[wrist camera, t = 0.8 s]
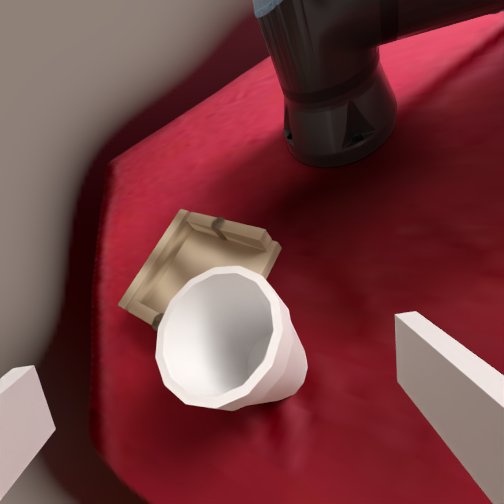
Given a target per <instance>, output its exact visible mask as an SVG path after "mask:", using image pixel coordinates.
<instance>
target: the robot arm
mask: <svg viewBox="0 0 504 504" xmlns="http://www.w3.org/2000/svg"><path fill="white" fill-rule="evenodd" d="M253 3H254V14H255V16H256V17H257V18H258V20H259V23H260V26H261V29H262V32H263V35H264V38H265V41H266V44H267V47H268V50H269V53H270V56H271V59H272V62H273V65H274V68H275V71H276V73H277V76H278V79H279V82H280V85H281V88H282V91H283V94H284V136H285V140H286V143H287V145H288V148H289V150H290V152H291V154H292V155H293V157H294V158H296V159H297V160H298V161H300V162H301V163H304V164H306V165H309V166H314V167H336V166H341V165H345V164H349V163H352V162H355V161H357V160H359V159H362V158H364V157H366V156H367V155H369V154H371V153H372V152H374V151H375V150H377V149H378V148H379V147H380V146H381V145H382V144H383V143H384V142H385V141H386V140H387V139H388V138H389V136H390V135H391V134H392V132H393V130H394V128H395V125H396V120H397V103H396V98H395V95H394V92H393V90H392V88H391V85H390V83H389V81H388V79H387V76H386V74H385V72H384V70H383V67H382V65H381V63H380V58H379V46H380V45H383V44H386V43H390V42H393V41H396V40H400V39H403V38H407V37H410V36H414V35H417V34H421V33H424V32H428V31H431V30H435V29H439V28H442V27H446V26H449V25H453V24H456V23H460V22H463V21H467V20H470V19H474V18H477V17H481V16H484V15H488V14H496V13H499V12H501V11H504V0H253ZM395 333H396V358H397V382H398V383H399V384H400V385H401V387H402V388H403V389H404V390H405V392H406V393H407V394H408V396H409V397H410V398H411V399H412V401H413V402H414V403H415V405H416V406H417V407H418V408H419V410H420V411H421V412H422V414H423V415H424V416H425V417H426V419H427V420H428V421H429V422H430V424H431V425H432V426H433V428H434V429H435V430H436V431H437V433H438V434H439V435H440V437H441V438H442V439H443V440H444V442H445V443H446V444H447V445H448V447H449V448H450V449H451V451H452V452H453V453H454V454H455V456H456V457H457V458H458V460H459V461H460V462H461V463H462V465H463V466H464V467H465V469H466V470H467V471H468V472H469V474H470V475H471V476H472V477H473V479H474V480H475V481H476V483H477V484H478V485H479V486H480V488H481V489H482V490H483V492H484V493H485V494H486V495H487V497H488V498H489V499H490V500H491V502H492V503H493V504H504V376H503V375H502V374H501V373H499V372H498V371H497V370H495V369H494V368H493V367H491V366H490V365H488V364H487V363H486V362H484V361H483V360H482V359H480V358H479V357H478V356H476V355H475V354H473V353H472V352H471V351H469V350H468V349H467V348H465V347H464V346H463V345H461V344H460V343H458V342H457V341H456V340H454V339H453V338H452V337H450V336H449V335H448V334H446V333H445V332H443V331H442V330H441V329H439V328H438V327H437V326H435V325H434V324H433V323H431V322H430V321H428V320H427V319H426V318H424V317H423V316H422V315H420V314H419V313H418V312H416V311H415V312H408V313H401V314H395ZM54 430H55V426H54V423H53V420H52V417H51V414H50V411H49V408H48V405H47V402H46V399H45V396H44V393H43V390H42V387H41V384H40V381H39V378H38V375H37V372H36V370H35V367H34V365H33V366H26V367H19V368H13V369H12V370H11V371H9V372H8V373H7V374H5V375H4V376H3V377H2V378H0V500H1V499H2V498H3V496H4V495H5V494H6V493H7V491H8V490H9V489H10V488H11V486H12V485H13V483H14V482H15V481H16V480H17V479H18V477H19V476H20V475H21V473H22V472H23V471H24V469H25V468H26V467H27V466H28V464H29V463H30V462H31V460H32V459H33V458H34V457H35V455H36V454H37V453H38V451H39V450H40V449H41V448H42V446H43V445H44V443H45V442H46V441H47V440H48V438H49V437H50V436H51V435H52V433H53V432H54Z"/></svg>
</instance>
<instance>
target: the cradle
mask: <svg viewBox="0 0 504 504" xmlns="http://www.w3.org/2000/svg"><path fill="white" fill-rule="evenodd" d="M281 249H282V248H281V246H280V245H279V243H278V242H276V241H272V239H271V237H270V236H269V234H268V233H267V231H266V230H265V229H262V228H258V227H253V226H249V225H245V224H241V223H237V222H233V221H229V220H225V219H224V218H223V217H217V218H216V217H212V216H208V215H204V214H200V213H195V212H191V213H190V212H189V211H187V210H183V209H180V210H179V212H178V213H177V215H176V216H175V218H174V219H173V221H172V223H171V224H170V226H169V227H168V229H167V230H166V232H165V233H164V235H163V236H162V238H161V239H160V241H159V242H158V244H157V245H156V247H155V249H154V250H153V252H152V253H151V255H150V256H149V258H148V259H147V261H146V262H145V264H144V265H143V267H142V268H141V270H140V271H139V273H138V274H137V276H136V278H135V279H134V281H133V282H132V284H131V285H130V287H129V288H128V290H127V291H126V293H125V294H124V296H123V297H122V299H121V300H120V302H119V304H118V306H120V307H122V308H123V309H125V310H127V311H128V312H130V313H132V314H133V315H135V316H137V317H138V318H140V319H142V320H143V321H145V322H147V323H148V324H150V325H152V328H153V329H154V330H156V331H158V327H159V325H160V322H161V320H162V318H163V316H164V314H165V311H166V309H167V307H168V305H169V303H170V301H171V300H172V298H173V297H174V296H175V295H176V294H177V293H178V292H179V291H180V290H181V289H182V288H183V287H184V286H185V285H186V283H187V282H188V281H189V280H190V279H192V278H194V277H196V276H198V275H200V274H202V273H204V272H206V271H208V270H210V269H212V268H214V267H226V266H241V267H244V268H246V269H248V270H250V271H253V272H255V273H257V274H259V275H262V276H263V277H264V278H265V280H266V279H267V277H268V275H269V273H270V271H271V269H272V267H273V265H274V263H275V261H276V259H277V257H278V255H279V253H280V251H281Z"/></svg>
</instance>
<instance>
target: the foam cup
mask: <svg viewBox="0 0 504 504" xmlns="http://www.w3.org/2000/svg"><path fill="white" fill-rule="evenodd" d="M155 358H156V361H157V364H158V367H159V370H160V373H161V376H162V379H163V382H164V385H165V386H166V387H167V388H168V389H169V390H170V391H172V392H173V393H174V394H175V395H176V396H177V397H178V398H179V399H180V400H182V401H183V402H184V403H185V404H188V405H194V406H201V407H207V408H215V409H222V410H229V411H235V410H237V409H239V408H242V407H244V406H247V405H253V404H259V403H266V402H272V401H278V400H282V399H284V398H286V397H289V396H291V395H293V394H295V393H296V391H297V390H298V389H299V388H300V386H301V385H302V384H303V383H304V380H305V376H306V372H307V368H308V367H307V361H306V355H305V352H304V349H303V347H302V344H301V342H300V340H299V338H298V336H297V334H296V331H295V329H294V327H293V325H292V323H291V321H290V315H289V310H288V308H287V307H286V306H285V304H284V303H283V302H282V300H281V299H280V297H279V296H278V295H277V293H276V292H275V291H274V289H273V288H272V287H271V286H270V284H269V283H268V282H267V281H266V280H265V278H264V277H263V276H262V275H259V274H257V273H255V272H253V271H250V270H248V269H246V268H244V267H241V266H226V267H214V268H212V269H210V270H208V271H206V272H204V273H202V274H200V275H198V276H196V277H194V278H192V279H190V280H189V281H188V282H187V283H186V285H185V286H184V287H183V288H182V289H181V290H180V291H179V292H178V293H177V294H176V295H175V296H174V297H173V298H172V300H171V301H170V303H169V305H168V307H167V309H166V311H165V314H164V316H163V318H162V320H161V322H160V325H159V327H158V334H157V345H156V356H155Z"/></svg>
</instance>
